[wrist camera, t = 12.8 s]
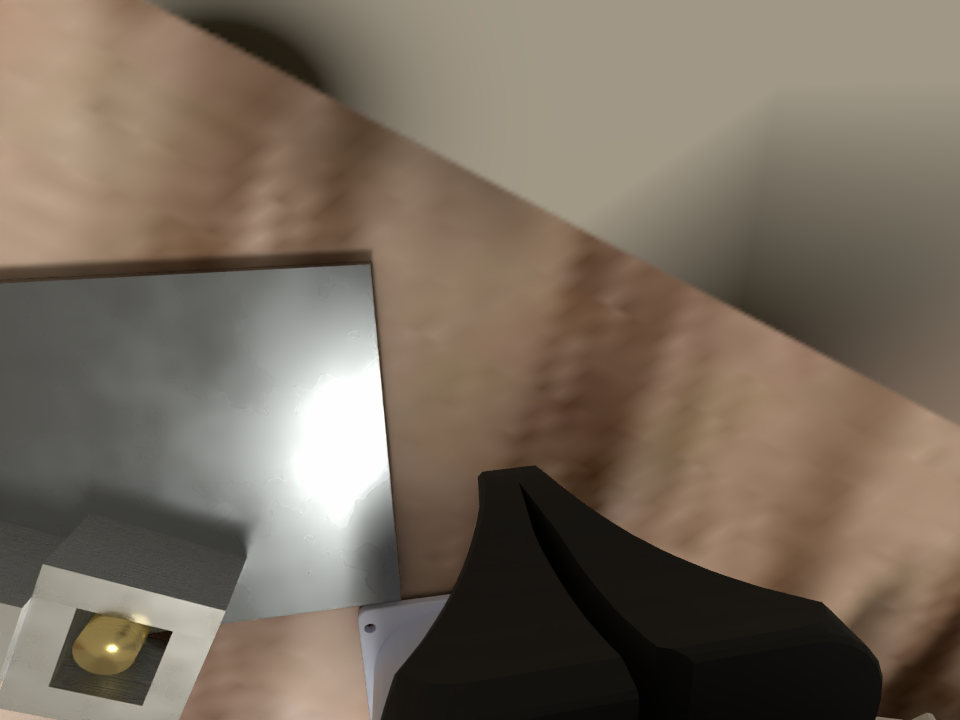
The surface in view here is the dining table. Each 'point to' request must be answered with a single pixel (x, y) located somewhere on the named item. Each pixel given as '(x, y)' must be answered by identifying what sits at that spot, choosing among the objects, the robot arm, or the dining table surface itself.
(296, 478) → the plate
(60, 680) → the link
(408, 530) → the dining table surface
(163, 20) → the dining table surface
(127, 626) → the cylinder
